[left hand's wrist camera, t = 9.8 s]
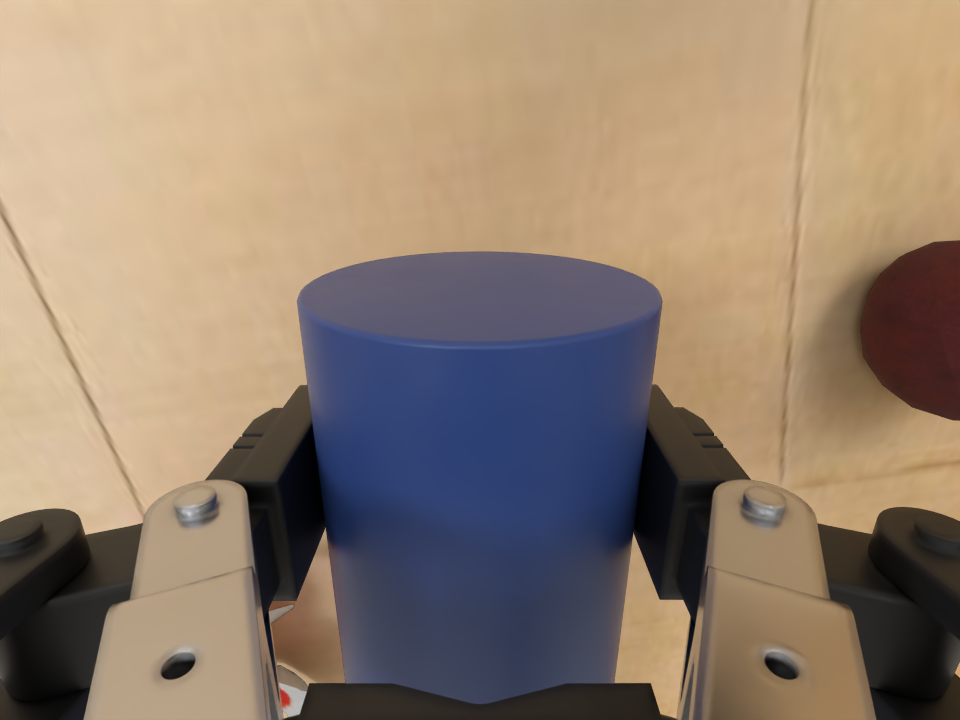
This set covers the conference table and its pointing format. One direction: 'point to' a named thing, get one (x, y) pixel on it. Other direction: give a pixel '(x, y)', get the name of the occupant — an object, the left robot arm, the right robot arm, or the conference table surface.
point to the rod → (479, 464)
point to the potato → (917, 328)
